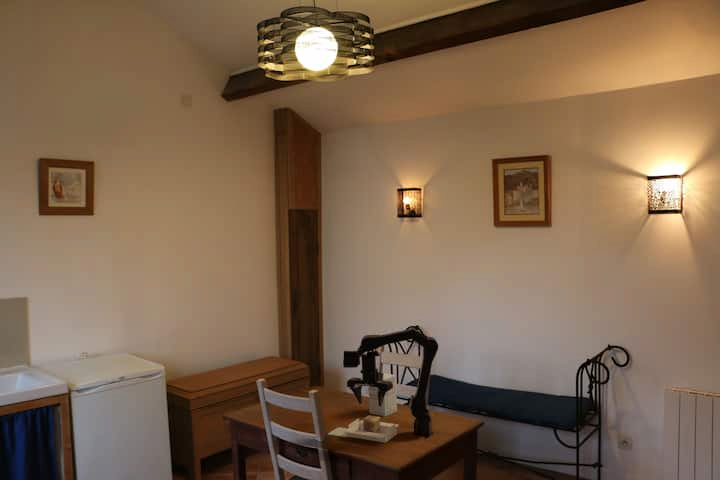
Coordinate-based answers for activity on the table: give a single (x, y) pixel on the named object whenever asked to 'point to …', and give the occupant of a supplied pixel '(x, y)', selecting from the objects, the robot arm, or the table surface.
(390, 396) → the supplement box
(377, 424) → the tea box
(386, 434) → the cream tray
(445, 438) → the table surface
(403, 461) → the table surface
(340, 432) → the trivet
